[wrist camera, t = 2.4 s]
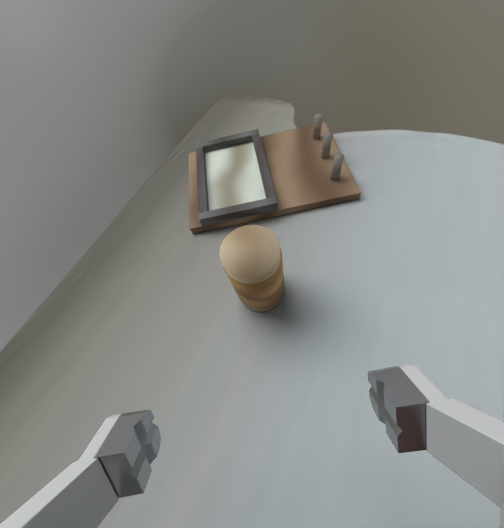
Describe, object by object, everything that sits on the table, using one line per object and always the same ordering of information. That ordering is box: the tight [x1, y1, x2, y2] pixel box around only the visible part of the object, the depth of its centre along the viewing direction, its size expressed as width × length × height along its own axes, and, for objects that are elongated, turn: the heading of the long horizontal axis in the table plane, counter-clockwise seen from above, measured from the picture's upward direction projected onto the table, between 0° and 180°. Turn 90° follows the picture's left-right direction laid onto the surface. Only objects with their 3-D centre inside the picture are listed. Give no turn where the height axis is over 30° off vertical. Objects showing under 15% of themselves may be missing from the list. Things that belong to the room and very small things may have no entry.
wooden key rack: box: [189, 113, 361, 234], centre depth 30 cm, size 20×14×4 cm
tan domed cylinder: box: [220, 225, 284, 312], centre depth 21 cm, size 5×5×8 cm
